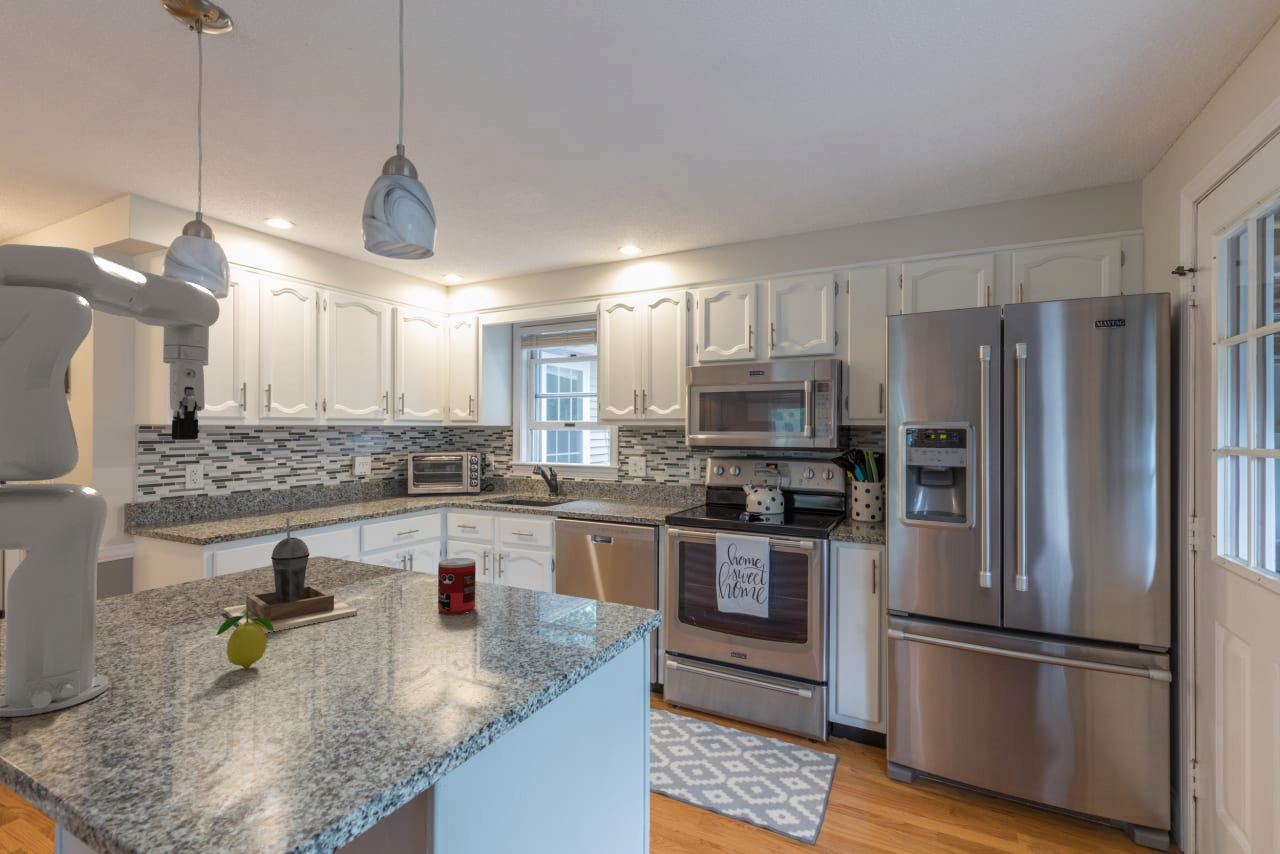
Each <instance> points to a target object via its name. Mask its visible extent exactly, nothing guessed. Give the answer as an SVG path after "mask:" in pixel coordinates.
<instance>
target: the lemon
mask: <svg viewBox="0 0 1280 854" xmlns="http://www.w3.org/2000/svg"><path fill="white" fill-rule="evenodd" d="M248 610H249V609H248V608H247V613H246V614H247V615H246V614H245V615H246V622H245V623H244V624H243V625H241V626H238V627H236V628H235V629H234V630H233V631H232V633H231V635H230V636H229V639H228V641H227V645H226V655H227V658H228V660H229V662H230V663H231V664H232V665H235V666H237V667H239V666H240V667H243V668H244V669H245V670H246V669H249V668H250V667H251V666H252V665H253V664H254V663H256V662H258V661H259V660H261V659H262V657H263V655H265V652H266V649H267V648H266V647H267V637H266V633H264V631H263V629H262V628H264V629H267V630H270V631H274V630H273V625H272V624H271V622H270V621H269V620H267V619H266V618H254V619H251V618H249V617H248ZM245 615H244V616H245ZM244 616H234V617H231V618H229V617H228V618H227V619H226V620H225V621H224V622H223V623H222V624H221V625H220V628H219V629H218V630H217V633H216V636H219V635H220V636H221V635H222V634H223V633H225V632H226V631H227V630H229V629H230V628H232V627H233V626H234V625H237V624H236V623H237V622H238V621H239V620H240V619H242V618H243V617H244ZM248 618H249V619H251V620H252V621H253V622H254V623H251V622H249V621H248ZM261 627H262V628H261Z"/></svg>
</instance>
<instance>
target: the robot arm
mask: <svg viewBox="0 0 1280 854" xmlns="http://www.w3.org/2000/svg"><path fill="white" fill-rule="evenodd" d="M92 310H94V311H98V312H101V313H105V314H109V315H112V316H118V317H125V318H126V317H127V318H134V319H135V320H136V321H137V322H139V323H142V324H144V325H147V326H152V327H153V326H154V327H162V328H163V348H162V349H163V352H162V354H163V355H162V356H163V357H162V361H163V363H165V364H169V365H170V367H169V403H170V404H169V405H170V410H172V411H173V415H172V421H171V439H173V440H197V439H198V438H199V419H198V412H201V411H204V409H205V408H206V406H205V405H206V404H205V403H206V402H205V401H206V400H205V373H204V372H205V371H204V367H205V366H208V365H209V349H210V348H209V347H210V346H209V342H210V341H209V340H210V339H209V337H210V327H211V326H214V324H215V323H216V322H217V321H218V319H219V316H220V304H219V302H218V300H217V299H216V297H215V295H214V294H213V293H212V292H211V291H210V290H208V289H207V288H205V287H203V286H201V285H198V284H195V283H193V282H189V281H187V280H181V279H177V278H173V277H167V276H163V275H159V274H156V273H151V272H148V271H143V270H139V269H134V268H129V267H128V266H125V265H121V264H119V263H116V262H114V261H111V260H109V259H107V258H104V257H102V256H100V255H98V254H95V253H91V252H89V251H86V250H83V249H79V248H74V247H65V246H52V245H51V246H50V245H35V244H18V243H17V244H16V243H9V244H8V243H7V244H2V245H0V482H35V481H48V480H54V479H59V478H63V477H65V476H67V475H69V474H71V473H72V472H73V471H74V470H75V469H76V468H77V467H76V466H78V462H79V446H78V442H77V436H76V432H75V427H74V424H73V420H72V416H71V411H70V407H69V403H68V399H67V395H66V387H65V377H66V376H65V375H66V372H67V369H68V366H69V365H70V363H71V360H72V359H73V357H74V355H75V354H76V352H77V350H78V349H79V347H80V346H81V345H82V343H83V342H84V341H85V340H86V338H87V337H88V335H89V333H90V331H91V329H92V324H93V323H92V322H93V311H92ZM107 517H108V504H107V501H106V499H105V497H104V496H103V495H102V493H100V492H99V491H98V490H96V489H94V488H92V487H89V486H87V485H82V484H76V483H64V482H63V483H60V482H59V483H58V482H57V483H53V482H52V483H17V484H16V483H8V484H7V483H6V484H5V483H3V484H2V483H0V551H16V550H18V551H28V554H27V555H26V556H25V557H24V559H23V560H22V561H21V562H19V563H20V564H19V565H18V566H16V568H15V569H14V571H13V572H12V574H11V575H10V577H9V579H8V581H7V587H6V588H7V590H6V624H5V626H6V628H5V629H6V630H5V631H6V633H5V636H6V637H5V640H6V641H5V669H4V670H5V676H4V681H5V682H4V683H5V684H4V692H2V693H1V694H0V717H5V718H6V717H7V718H10V717H13V718H15V717H24V716H25V717H26V716H31V715H32V716H33V715H38V714H43V713H49V712H54V711H57V710H61V709H65V708H69V707H72V706H75V705H78V704H81V703H83V702H86V701H88V700H91V699H94V698H95V697H97V696H99V695H101V694H102V693H103V692H105V691H106V690H107V689H108V686H109V678H108V677H107V676H106V675H104V674H100V673H99V674H98V673H96V644H97V641H96V640H97V639H96V638H97V635H96V634H97V594H98V593H97V591H98V589H97V588H98V586H97V585H98V562H99V553H100V546H101V542H102V537H103V533H104V528H105V526H106V522H107Z"/></svg>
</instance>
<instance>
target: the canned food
mask: <svg viewBox="0 0 1280 854" xmlns="http://www.w3.org/2000/svg"><path fill="white" fill-rule="evenodd" d="M476 570H477V569H476V559H473V558H469V557H453V558H452V557H451V558H445V559H443V560H442V559H441V560H439V561H438V570H437V573H438V575H437V577H438V578H437V579H438V580H437V581H438V582H437V609H438V612H439V613H440V614H442V615H446V614H459V615H463V614H462V613H465V614H467V613H466V612H469V613H471V612H473V611H474V609H475V608H476V607H475V606H476V573H477V572H476ZM472 610H473V611H472ZM470 611H471V612H470Z"/></svg>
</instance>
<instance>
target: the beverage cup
mask: <svg viewBox="0 0 1280 854" xmlns="http://www.w3.org/2000/svg"><path fill="white" fill-rule="evenodd" d="M285 524H286V536H287V537H286V538H283V539H281V540H280V541H278V543H276V545H275V546H274V547H273V550H272V553H271V558H270V559H271V564H272V568H273V575H274V577H273V578H274V589H275V590H274V591H276V603H277V604H280V603H286V602H292V601H298V600H303V592H304V586H305V581H306V574H307V566H308V563H309V557H310V551H309V550H310V549H309V548H308V545H307V544H306V543H305V541H304V540H303V539H300V538H298V537H291V533H290V532H291V530H290V518H289V517H286V523H285Z"/></svg>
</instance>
